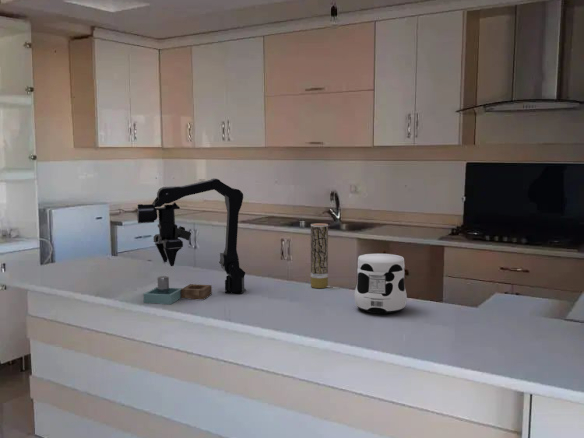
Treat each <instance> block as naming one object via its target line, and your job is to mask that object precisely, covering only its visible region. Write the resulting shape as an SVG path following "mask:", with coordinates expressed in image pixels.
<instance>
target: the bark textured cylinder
mask: <svg viewBox="0 0 584 438" xmlns="http://www.w3.org/2000/svg"><path fill="white" fill-rule="evenodd" d="M328 285H329V224H328V223H322V222H321V223H319V222H318V223H310V287H312V288H315V289H325V288H327V287H328Z"/></svg>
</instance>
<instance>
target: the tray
mask: <svg viewBox="0 0 584 438" xmlns="http://www.w3.org/2000/svg"><path fill="white" fill-rule="evenodd" d="M181 289H182V288H179V287H178V288H177V287H169V295H168V294H158V286H156V287H154V288H152V289H150V290H148V291H146V292H144V293H143V304H155V303H158V304H159V305H172V304H174V303H175V301H176V302H178V301H179V300H181V299H180V298H181ZM178 299H179V300H178Z"/></svg>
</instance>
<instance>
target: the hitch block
mask: <svg viewBox="0 0 584 438" xmlns="http://www.w3.org/2000/svg"><path fill="white" fill-rule="evenodd" d="M212 290H213V289H212V284H197V283H195V284H194V283H190V284H188V285H186V286H184V287H183V288H182V289H181V298H191V299H190V300H195V299H204V298H205V299H207V298H208V297H210V296H211V295H212V294H213V291H212ZM210 294H211V295H210ZM209 295H210V296H209ZM207 296H208V297H207ZM206 297H207V298H206ZM205 299H204V300H205Z"/></svg>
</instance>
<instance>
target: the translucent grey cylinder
mask: <svg viewBox="0 0 584 438" xmlns="http://www.w3.org/2000/svg"><path fill="white" fill-rule="evenodd" d="M169 278H170V277H169V276H165V275H164V276H162V275H161V276H158V277H157V278H156V279H157V287H158V294H168V295H169V288H170V279H169Z"/></svg>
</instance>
